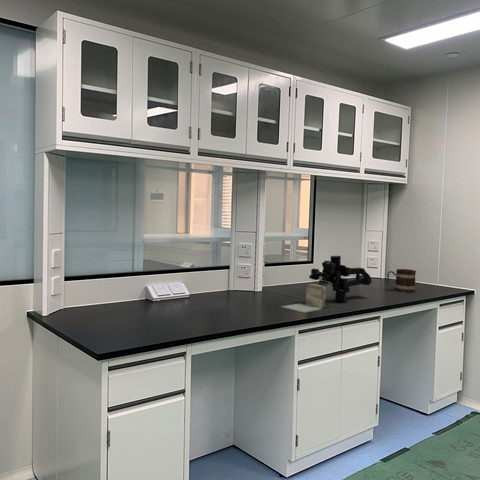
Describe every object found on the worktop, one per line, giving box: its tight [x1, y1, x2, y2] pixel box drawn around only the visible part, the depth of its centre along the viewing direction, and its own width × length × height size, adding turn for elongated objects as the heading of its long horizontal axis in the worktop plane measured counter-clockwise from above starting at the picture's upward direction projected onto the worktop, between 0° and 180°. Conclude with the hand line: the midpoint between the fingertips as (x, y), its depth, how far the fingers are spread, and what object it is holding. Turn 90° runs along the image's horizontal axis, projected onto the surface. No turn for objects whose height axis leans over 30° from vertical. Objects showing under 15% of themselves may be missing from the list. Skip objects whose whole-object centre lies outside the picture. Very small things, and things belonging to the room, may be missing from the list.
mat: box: [281, 303, 322, 314], centre depth 263 cm, size 15×16×1 cm
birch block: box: [305, 283, 327, 309], centre depth 270 cm, size 5×10×12 cm, turn 42°
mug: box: [386, 268, 417, 294], centre depth 333 cm, size 20×14×15 cm
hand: (315, 278), depth 269 cm, fingers open, 9 cm apart
